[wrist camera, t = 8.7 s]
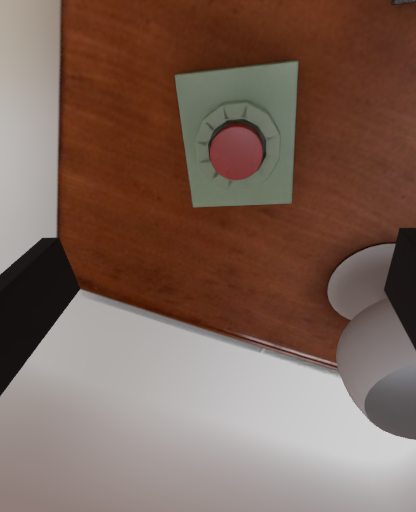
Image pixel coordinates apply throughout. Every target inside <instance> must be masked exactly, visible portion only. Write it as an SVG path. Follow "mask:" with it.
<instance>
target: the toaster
mask: <svg viewBox="0 0 416 512" xmlns="http://www.w3.org/2000/svg"><path fill="white" fill-rule="evenodd" d="M410 2H416V0H393V1H392V5H396V4H403V3H410Z"/></svg>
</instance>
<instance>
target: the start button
mask: <svg viewBox="0 0 416 512" xmlns="http://www.w3.org/2000/svg"><path fill="white" fill-rule="evenodd" d="M262 158H263V144H262V140H261V137H260V135H259V133H258V132H257V131H256V130H255V129H254V128H253V127H252V126H250V125H248V124H246V123H241V122H234V123H230V124H227V125H225V126H224V127H222V128H221V129H220V130H219V131H218V132H217V134H216V135H215V137H214V139H213V141H212V144H211V147H210V160H211V163H212V166H213V167H214V169H215V170H216V172H217V173H219V174H220V175H221V176H223V177H224V178H227V179H230V180H242V179H245V178H248V177H249V176H251V175H252V174H254V173H255V172H256V171H257V169H258V168H259V166H260V164H261V162H262Z"/></svg>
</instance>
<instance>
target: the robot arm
mask: <svg viewBox="0 0 416 512" xmlns="http://www.w3.org/2000/svg"><path fill="white" fill-rule="evenodd" d="M79 290H80V287H79V285H78V282H77V280H76V277H75V275H74V273H73V270H72V268H71V265H70V263H69V261H68V258H67V256H66V254H65V251H64V249H63V246H62V244H61V242H60V239H59V238H42V239H41V240H40V241H38V242H37V243H36V244H35V245H34V246H33V247H32V248H30V249H29V250H28V251H27V252H26V253H25V254H24V255H22V256H21V257H20V258H19V259H18V260H17V261H15V262H14V263H13V264H12V265H11V266H10V267H9V268H8V269H6V270H5V271H4V272H3V273H2V274H1V275H0V395H1V394H2V393H3V392H4V390H5V389H6V388H7V386H8V385H9V384H10V382H11V381H12V380H13V378H14V377H15V376H16V374H17V373H18V372H19V370H20V369H21V368H22V366H23V365H24V364H25V362H26V361H27V359H28V358H29V357H30V356H31V354H32V353H33V351H34V350H35V349H36V347H37V346H38V345H39V343H40V342H41V341H42V339H43V338H44V337H45V335H46V334H47V333H48V331H49V330H50V329H51V327H52V326H53V325H54V323H55V322H56V321H57V319H58V318H59V317H60V315H61V314H62V313H63V311H64V310H65V309H66V307H67V306H68V305H69V303H70V302H71V300H72V299H73V298H74V296H75V295H76V294H77V293H78V291H79ZM384 292H385V293H386V295H387V297H388V299H389V301H390V303H391V305H392V307H393V309H394V310H395V312H396V314H397V316H398V318H399V320H400V322H401V324H402V326H403V328H404V329H405V331H406V333H407V335H408V337H409V339H410V341H411V343H412V345H413V346H414V348H415V350H416V228H400V229H399V233H398V237H397V240H396V244H395V248H394V252H393V256H392V260H391V264H390V267H389V271H388V275H387V279H386V283H385V287H384Z"/></svg>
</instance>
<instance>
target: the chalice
mask: <svg viewBox="0 0 416 512" xmlns="http://www.w3.org/2000/svg"><path fill="white" fill-rule="evenodd" d="M394 248H395V244H382V245H378V246H374V247H369V248H367V249H364V250H362V251H360V252H357V253H355V254H354V255H352V256H351V257H349V258H347V259H346V260H345V261H344V262H343V263H342V264H340V265H339V266H338V267H337V269H336V270H335V272H334V273H333V274H332V276H331V279H330V281H329V284H328V297H329V302H330V303H331V305H332V306H333V308H334V309H335V310H336V311H337V312H338V313H339V314H340V315H342V316H344V317H345V318H347V319H349V320H351V322H350V323H349V324H348V325H347V326H346V328H345V329H344V330H343V332H342V334H341V337H340V339H339V342H338V346H337V358H336V360H337V366H338V370H339V373H340V375H341V378H342V380H343V383H344V385H345V387H346V389H347V391H348V393H349V395H350V397H351V398H352V400H353V401H354V403H355V404H356V405H357V407H358V408H359V409H360V410H361V411H362V412H363V414H364V415H365V416H366V417H367V418H368V419H369V420H370V421H371V422H372V423H373V424H375V425H376V426H378V427H379V428H380V429H382V430H384V431H386V432H389V433H391V434H393V435H396V436H400V437H405V438H408V439H416V350H415V348H414V346H413V345H412V343H411V341H410V339H409V337H408V335H407V333H406V331H405V329H404V328H403V326H402V324H401V322H400V320H399V318H398V316H397V314H396V312H395V310H394V309H393V307H392V305H391V303H390V301H389V299H388V297H387V295H386V293H385V292H384V287H385V283H386V279H387V275H388V271H389V267H390V264H391V260H392V256H393V252H394Z"/></svg>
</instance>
